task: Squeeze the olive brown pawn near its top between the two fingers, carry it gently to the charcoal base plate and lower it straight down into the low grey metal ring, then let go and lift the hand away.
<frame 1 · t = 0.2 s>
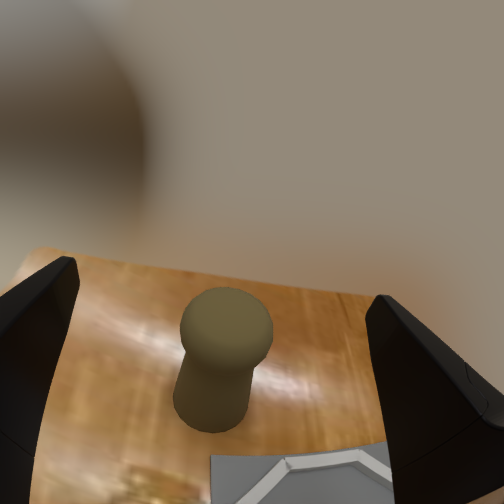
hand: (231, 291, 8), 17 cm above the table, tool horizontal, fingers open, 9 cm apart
olive brown pawn: (210, 400, 22), on the table
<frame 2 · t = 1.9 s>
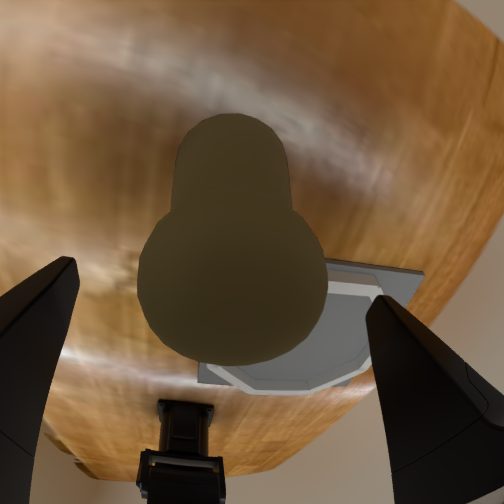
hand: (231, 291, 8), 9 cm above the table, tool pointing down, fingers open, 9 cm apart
olive brown pawn: (231, 166, 16), on the table
collar plate: (301, 335, 24), on the table
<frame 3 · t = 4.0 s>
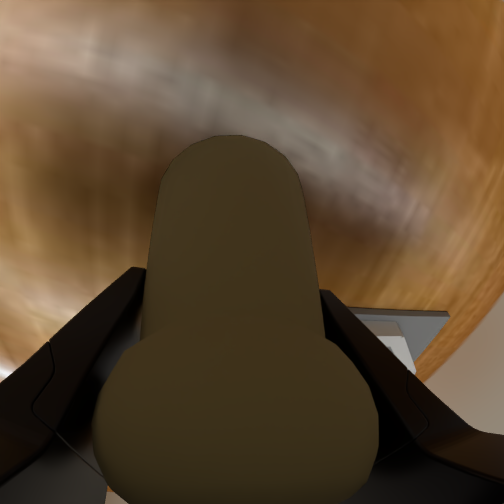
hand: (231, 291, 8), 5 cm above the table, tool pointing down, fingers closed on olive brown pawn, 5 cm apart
olive brown pawn: (230, 204, 12), on the table, touching gripper
collar plate: (310, 381, 21), on the table
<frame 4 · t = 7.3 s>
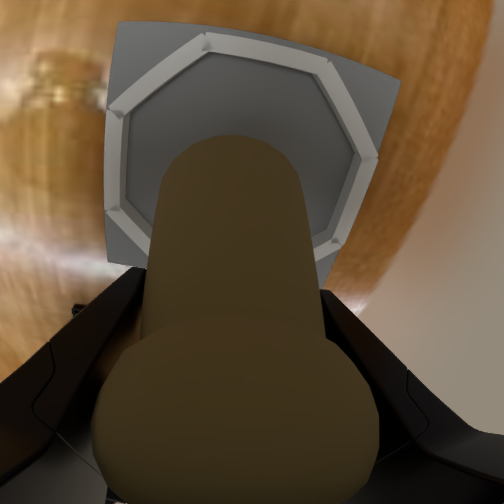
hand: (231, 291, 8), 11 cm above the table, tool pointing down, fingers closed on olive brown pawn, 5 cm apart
olive brown pawn: (230, 204, 12), point 6 cm above the table, touching gripper
collar plate: (236, 168, 17), on the table
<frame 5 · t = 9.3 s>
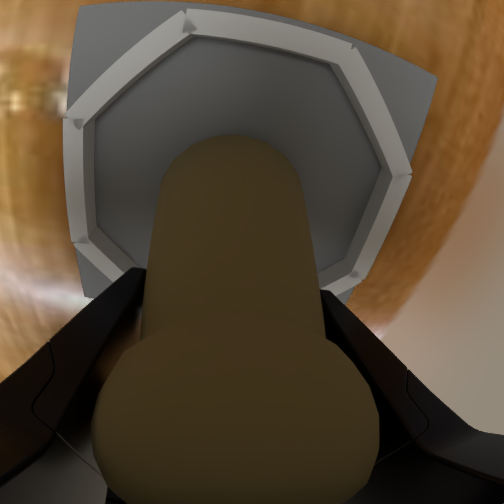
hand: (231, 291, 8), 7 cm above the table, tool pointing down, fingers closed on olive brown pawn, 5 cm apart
olive brown pawn: (230, 204, 12), point 2 cm above the table, touching gripper
collar plate: (232, 187, 14), on the table
when the fingers open (6 cm above the table, at t = 10.7 s): olive brown pawn stays where it is, resting on collar plate.
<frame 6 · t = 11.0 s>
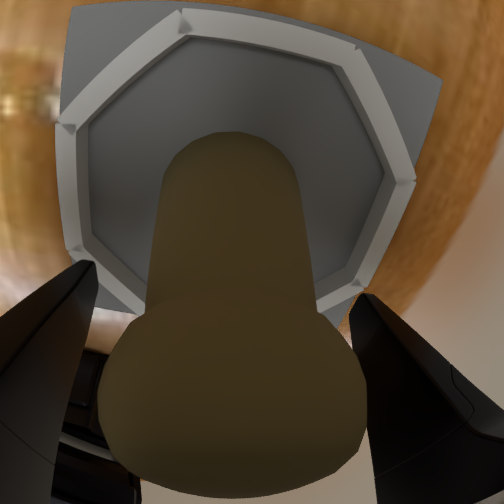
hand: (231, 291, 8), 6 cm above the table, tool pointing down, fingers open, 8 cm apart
olive brown pawn: (229, 197, 13), resting on collar plate
collar plate: (230, 194, 13), on the table
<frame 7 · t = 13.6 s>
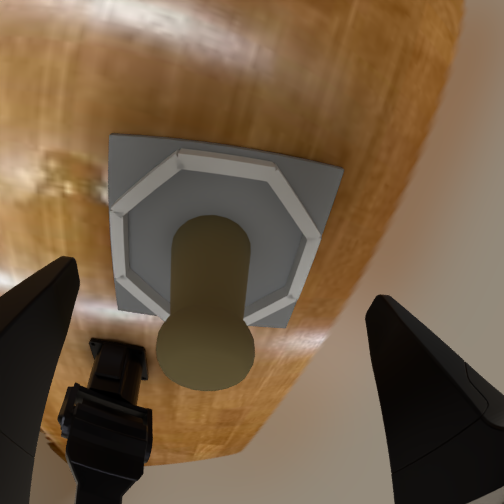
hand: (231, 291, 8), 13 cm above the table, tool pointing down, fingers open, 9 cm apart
olive brown pawn: (211, 248, 23), resting on collar plate
collar plate: (211, 246, 23), on the table
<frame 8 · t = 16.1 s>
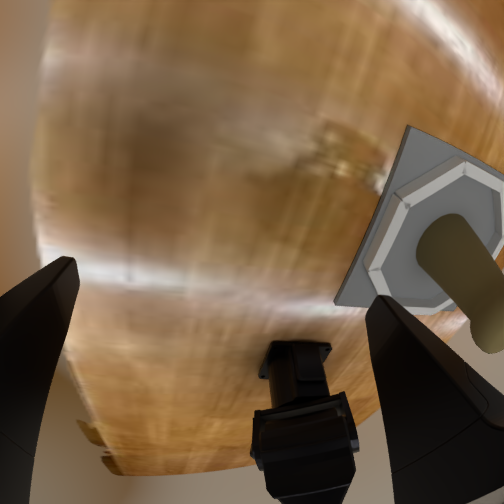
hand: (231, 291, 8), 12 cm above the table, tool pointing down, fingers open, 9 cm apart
olive brown pawn: (442, 242, 23), resting on collar plate
collar plate: (441, 240, 23), on the table
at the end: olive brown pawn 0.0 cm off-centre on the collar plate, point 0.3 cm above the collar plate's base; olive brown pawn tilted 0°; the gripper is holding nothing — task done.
